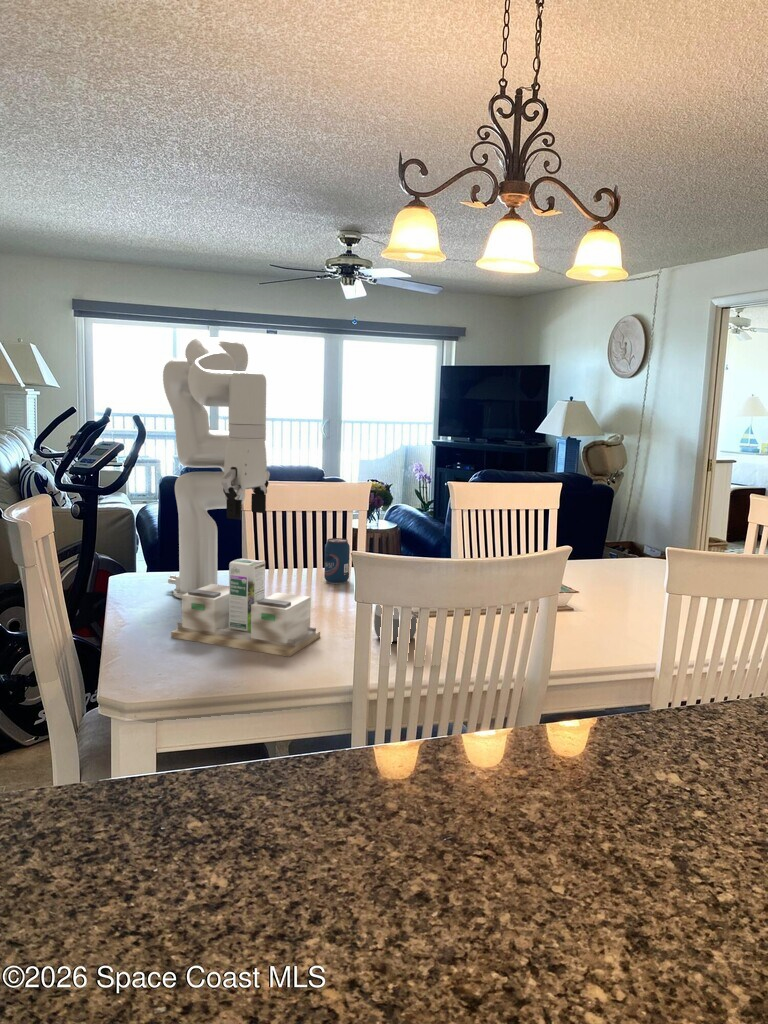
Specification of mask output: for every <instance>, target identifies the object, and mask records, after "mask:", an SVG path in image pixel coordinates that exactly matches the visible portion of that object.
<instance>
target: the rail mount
mask: <svg viewBox="0 0 768 1024" xmlns="http://www.w3.org/2000/svg"><path fill="white" fill-rule="evenodd" d="M311 598H312V597H311V596H307V595H298V594H293V593H292V594H291V593H285V592H278V591H277V592H275V593H273V594H272V595H271V594H270V595H268V596H266V597H265V598H263V599H261V600H259V601H257V602H256V603H254V604H252V605H251V632H247V631H240V630H234V629H229V585H223V584H217V585H216V584H210V585H207V586H205V587H202V588H199V589H194V590H191V591H189V592H188V593H186V594H184V595H182V599H181V621H177V624H176V625H177V629H175V630H172V631H171V632H170V634H171V635H170V638H174V639H177V640H178V639H179V640H185V641H192V642H198V643H203V644H209V645H210V644H211V645H216V646H221V647H227V648H234V649H240V650H247V651H253V652H259V653H263V654H264V653H265V654H270V655H277V656H284V657H293V655H295V654H297V653H298V652H299V651H301V650H303V649H304V648H306V647H308V645H310V644H311V643H313V642H314V641H316V640H318V639H319V638H320V637H321V631H320V630H317V628H316V627H313V626H311V606H312V605H311V600H312V599H311Z"/></svg>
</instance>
